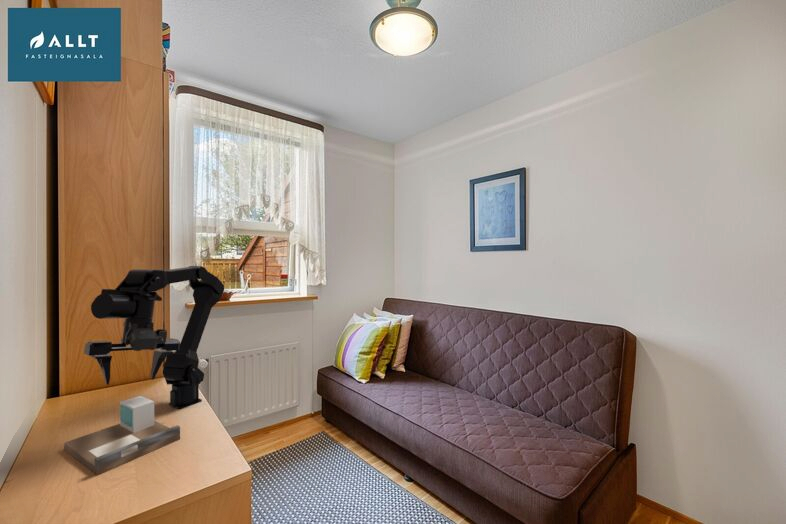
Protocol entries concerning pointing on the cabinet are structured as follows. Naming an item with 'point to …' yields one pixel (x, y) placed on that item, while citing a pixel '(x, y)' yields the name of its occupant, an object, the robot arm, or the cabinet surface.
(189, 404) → the robot arm
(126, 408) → the carton
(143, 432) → the shelf board
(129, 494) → the cabinet surface
